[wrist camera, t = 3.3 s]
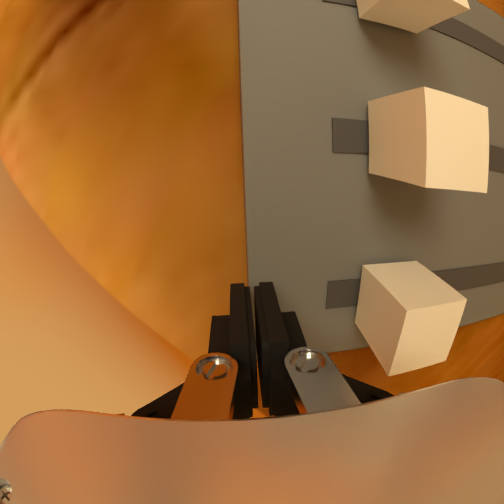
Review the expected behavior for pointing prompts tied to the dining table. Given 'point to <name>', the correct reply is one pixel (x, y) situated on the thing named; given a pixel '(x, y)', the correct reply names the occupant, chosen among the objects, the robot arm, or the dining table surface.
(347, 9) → the switch board
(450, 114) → the knob
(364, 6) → the knob
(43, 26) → the dining table surface
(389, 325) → the knob
